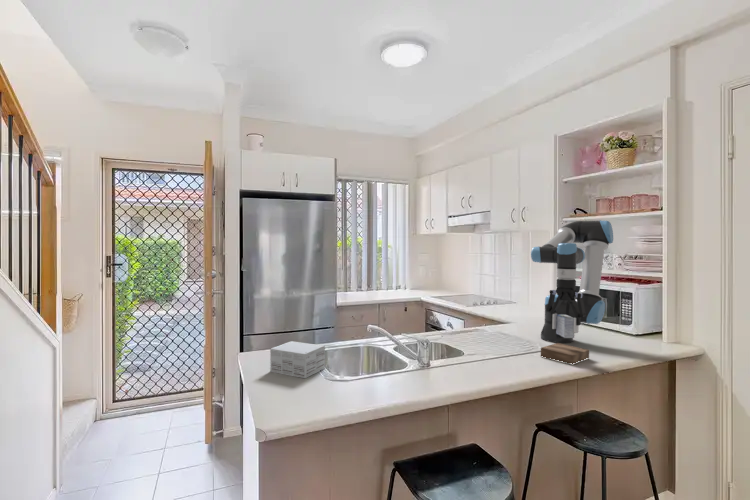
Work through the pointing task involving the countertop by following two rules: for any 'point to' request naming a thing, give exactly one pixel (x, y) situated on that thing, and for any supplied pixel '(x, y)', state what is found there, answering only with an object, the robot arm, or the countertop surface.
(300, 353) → the supplement box
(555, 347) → the walnut base block
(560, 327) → the medicine box
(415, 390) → the countertop surface
